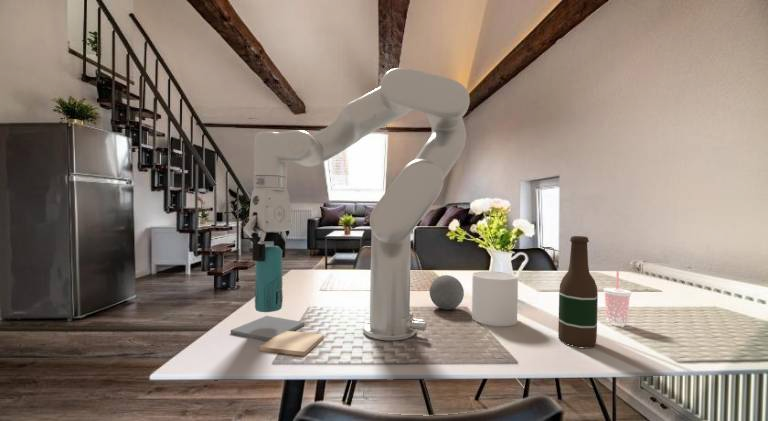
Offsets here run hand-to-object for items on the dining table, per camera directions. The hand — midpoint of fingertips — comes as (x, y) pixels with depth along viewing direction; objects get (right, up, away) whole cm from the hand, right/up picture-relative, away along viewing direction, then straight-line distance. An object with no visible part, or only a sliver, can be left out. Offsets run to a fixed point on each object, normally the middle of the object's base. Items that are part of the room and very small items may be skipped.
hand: (269, 258), depth 86 cm
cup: (+57, -18, +10) cm, 61 cm away
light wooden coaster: (+8, -17, -9) cm, 21 cm away
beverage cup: (+89, -19, +8) cm, 91 cm away
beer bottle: (+71, -19, -5) cm, 74 cm away
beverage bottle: (0, -14, 0) cm, 14 cm away
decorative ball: (+46, -18, +20) cm, 53 cm away
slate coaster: (0, -17, 0) cm, 17 cm away
